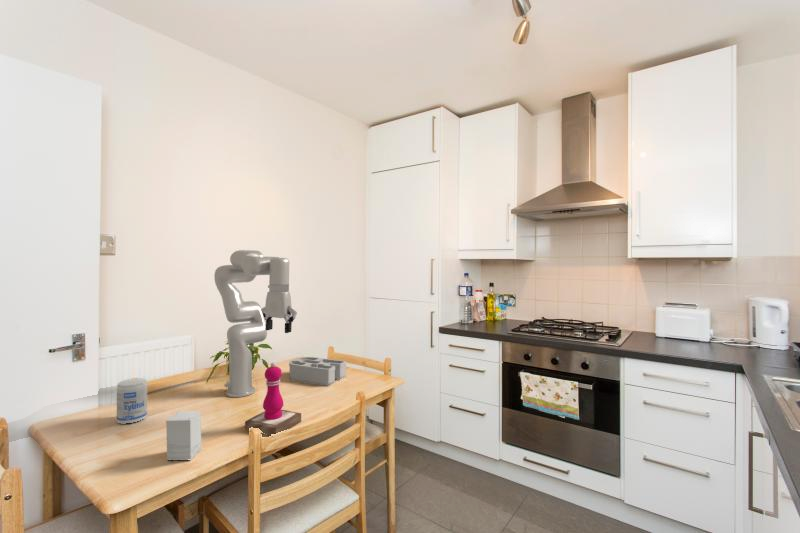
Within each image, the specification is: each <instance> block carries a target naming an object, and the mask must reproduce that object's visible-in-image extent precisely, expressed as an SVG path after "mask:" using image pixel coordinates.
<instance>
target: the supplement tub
mask: <svg viewBox="0 0 800 533" xmlns="http://www.w3.org/2000/svg"><path fill="white" fill-rule="evenodd" d="M147 416H148V380H147V378H142V377H141V378H140V377H138V378H129V379H125V380H121V381H119V382H117V387H116V422H117V423H118V424H119V423H121V424H120V425H127V424H126V423H132V424H134V423H133V422H136V423H138V422H137V421H139V422H141V421H143V420H142V419H144V418H145V419H146V418H147ZM145 419H144V420H145ZM140 420H141V421H140Z"/></svg>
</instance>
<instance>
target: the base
mask: <svg viewBox="0 0 800 533" xmlns="http://www.w3.org/2000/svg"><path fill="white" fill-rule="evenodd" d="M281 410H282V416H281V417H280V418H278V419H274V420H268V419H265V417H264V413H265V410H264V411H262V412H261V413H258V414H256V415H254V416H253V417H250V418H249V419H247V420H245V421H244V430H245V431H246V430H249V428H251V427H253V428H259V429H260V430H261V431H262V432H263V433H265V434H267V435H266V436H268V435H271V434H276V433H278V432H281V431H284V430H287V429H289V430H290V429H292V428H293V427H295V426H296V425H299V424H300V423H301V422H302V412H296V411H291V410H288V409H287V410H285V409H282V408H281ZM287 431H288V430H287Z"/></svg>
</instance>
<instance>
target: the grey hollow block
mask: <svg viewBox="0 0 800 533" xmlns="http://www.w3.org/2000/svg"><path fill="white" fill-rule="evenodd" d="M288 365H289V378H290V380H291V381H294V382H299V383H304V382H305V384H310V383H311V384H312V385H318V386H322V387H323V386H325V387H330V386H332V385H334V384H335V382H336V381H335V379H338V380H337V381H341V380H343V379H344V377H345V378H346V375H347V374H346V373H347V370H346V369H347V366H346V365H347V361H345V360H339V359H331V358H324V357H323V358H322V357H314V356H303V357H297V358H293V359H290V360H289V362H288ZM342 378H343V379H342ZM340 379H341V380H340ZM333 383H334V384H333ZM311 384H310V385H311ZM331 384H332V385H331Z"/></svg>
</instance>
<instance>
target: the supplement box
mask: <svg viewBox="0 0 800 533" xmlns="http://www.w3.org/2000/svg"><path fill="white" fill-rule="evenodd" d="M165 423H166V461H167V460H188V459H192V458H193V457H194V456H195V455H196V453H197V452H198V451H199V450H200V449H201V450H202V411H201V410H193V411H191V410H190V411H189V410H188V411H177V412H176V413H175V414H172V416H171V417H169V418H168V419H167V420H165ZM201 450H200V451H201ZM200 451H199V452H200ZM199 452H198V453H199ZM196 456H197V455H196ZM196 456H195V457H196ZM195 457H194V458H195ZM194 458H193V459H194ZM193 459H192V460H193Z"/></svg>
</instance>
